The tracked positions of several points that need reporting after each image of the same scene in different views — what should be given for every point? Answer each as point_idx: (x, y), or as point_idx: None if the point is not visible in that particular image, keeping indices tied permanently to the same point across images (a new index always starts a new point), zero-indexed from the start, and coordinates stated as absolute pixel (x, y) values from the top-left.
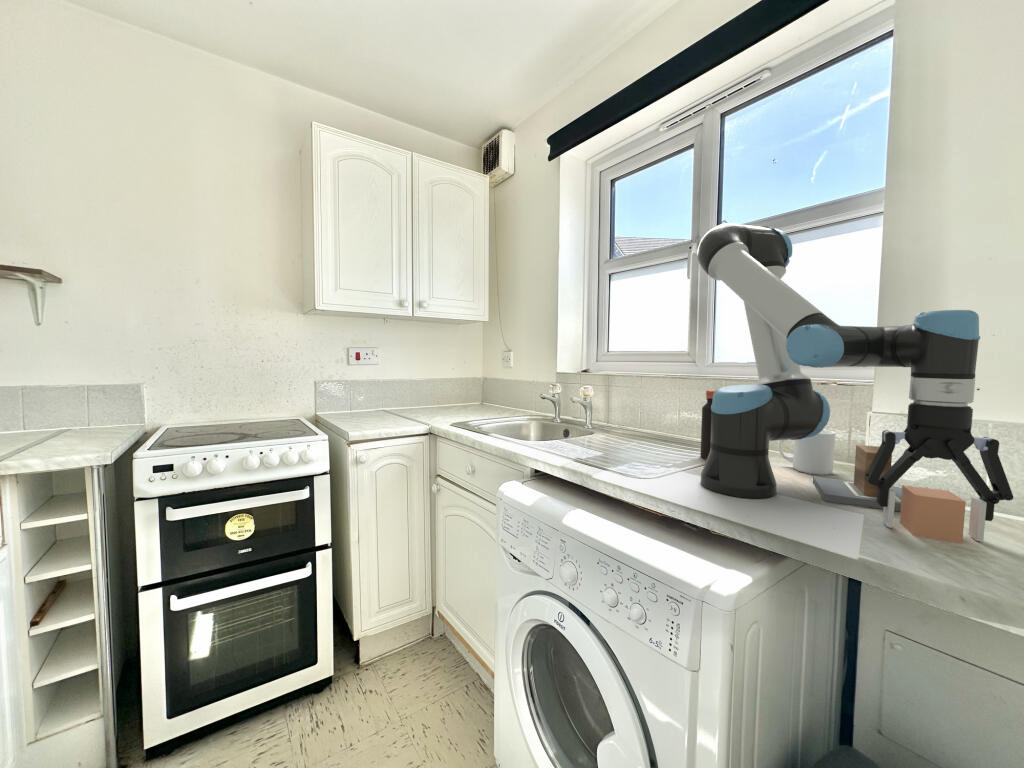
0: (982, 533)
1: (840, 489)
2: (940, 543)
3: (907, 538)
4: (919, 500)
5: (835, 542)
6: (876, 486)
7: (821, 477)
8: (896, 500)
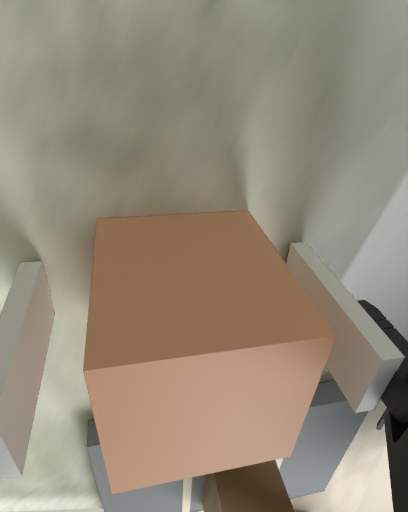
0: (16, 285)
1: (309, 446)
2: (181, 168)
3: (285, 161)
4: (301, 316)
5: None
6: (250, 481)
7: (307, 494)
8: None
